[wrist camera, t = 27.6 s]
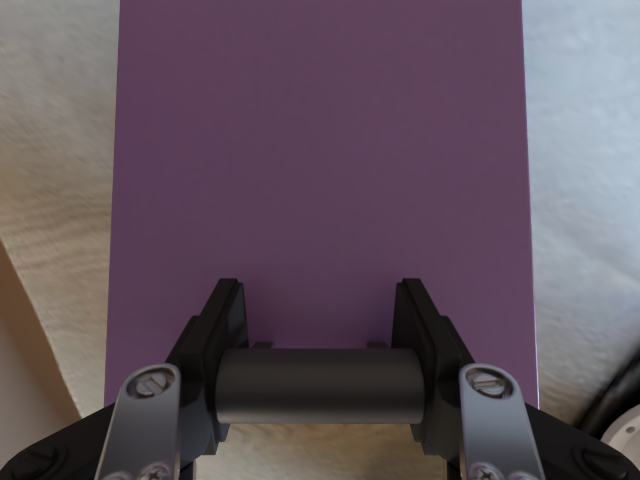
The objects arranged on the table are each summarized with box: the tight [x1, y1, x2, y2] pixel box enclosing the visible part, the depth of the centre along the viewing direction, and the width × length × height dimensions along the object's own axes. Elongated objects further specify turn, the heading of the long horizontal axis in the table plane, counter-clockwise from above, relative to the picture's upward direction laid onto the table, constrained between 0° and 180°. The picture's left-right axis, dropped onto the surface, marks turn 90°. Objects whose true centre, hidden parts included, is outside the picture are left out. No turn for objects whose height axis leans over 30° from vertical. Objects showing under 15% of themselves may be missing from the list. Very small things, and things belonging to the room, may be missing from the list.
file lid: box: [104, 0, 539, 424], centre depth 12 cm, size 19×16×5 cm
